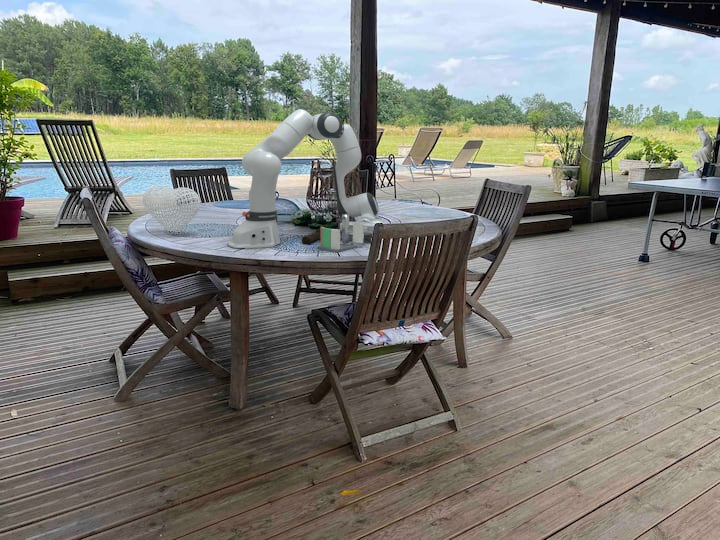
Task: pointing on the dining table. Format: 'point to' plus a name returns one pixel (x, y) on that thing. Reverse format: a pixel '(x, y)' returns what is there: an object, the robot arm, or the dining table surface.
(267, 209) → the robot arm
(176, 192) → the heart
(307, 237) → the hand tool
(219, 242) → the dining table surface
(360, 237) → the gauge lever
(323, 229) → the base
